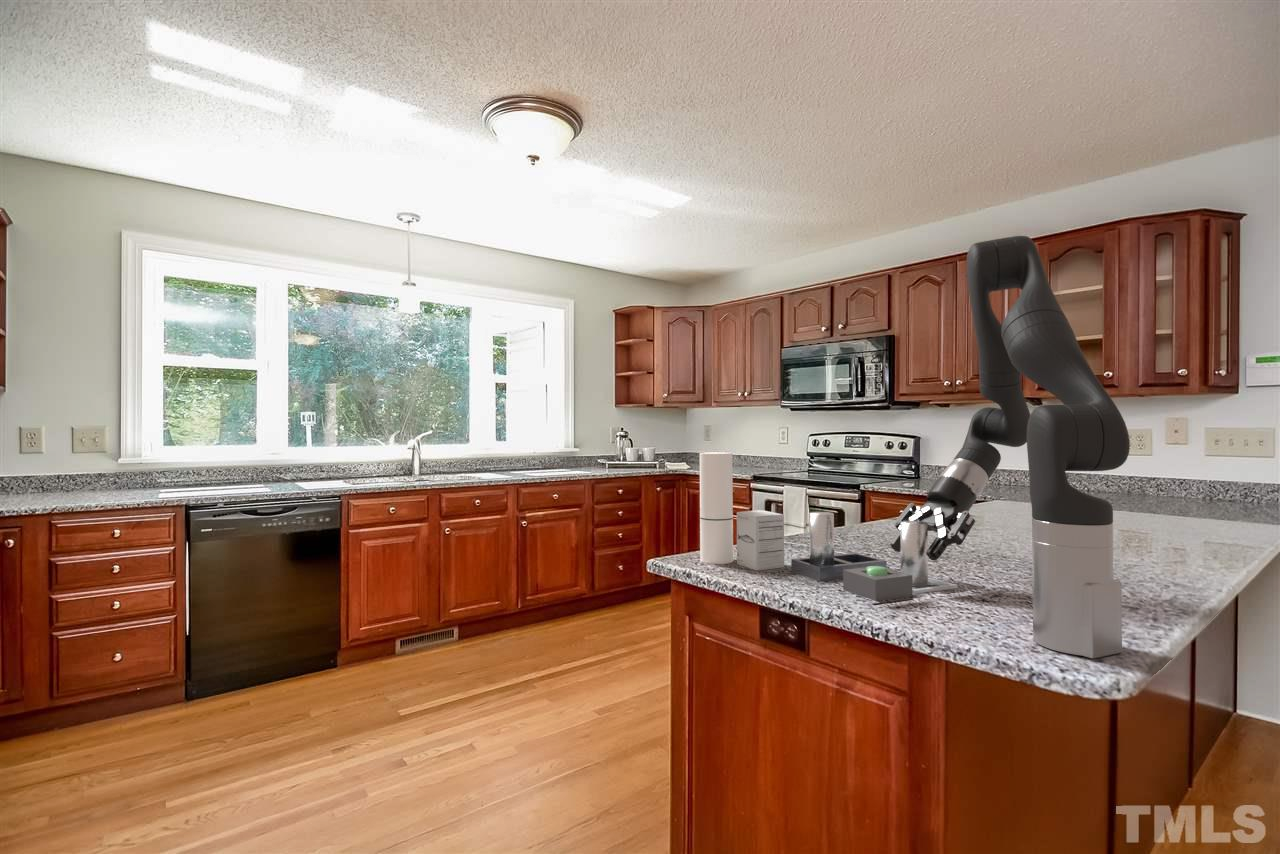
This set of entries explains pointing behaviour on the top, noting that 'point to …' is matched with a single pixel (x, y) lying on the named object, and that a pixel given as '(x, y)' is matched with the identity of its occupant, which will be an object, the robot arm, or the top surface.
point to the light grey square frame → (936, 588)
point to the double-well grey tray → (834, 566)
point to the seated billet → (821, 538)
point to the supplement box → (760, 539)
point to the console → (878, 585)
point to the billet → (914, 551)
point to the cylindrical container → (716, 508)
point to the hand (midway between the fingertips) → (911, 553)
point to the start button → (877, 570)
